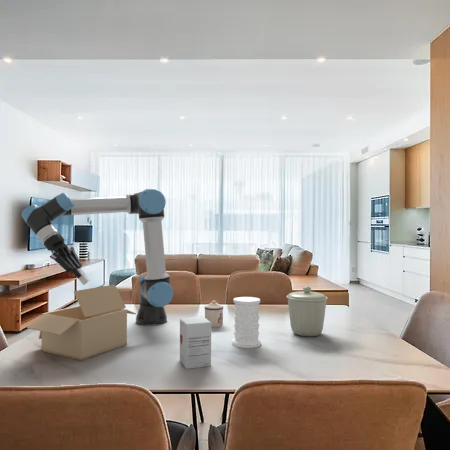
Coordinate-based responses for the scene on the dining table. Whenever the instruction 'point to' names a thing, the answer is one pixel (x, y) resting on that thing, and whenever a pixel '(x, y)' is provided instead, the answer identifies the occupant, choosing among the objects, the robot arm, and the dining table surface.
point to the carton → (81, 332)
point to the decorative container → (246, 322)
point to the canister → (307, 312)
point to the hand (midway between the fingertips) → (86, 282)
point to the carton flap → (99, 300)
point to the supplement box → (195, 342)
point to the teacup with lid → (214, 314)
